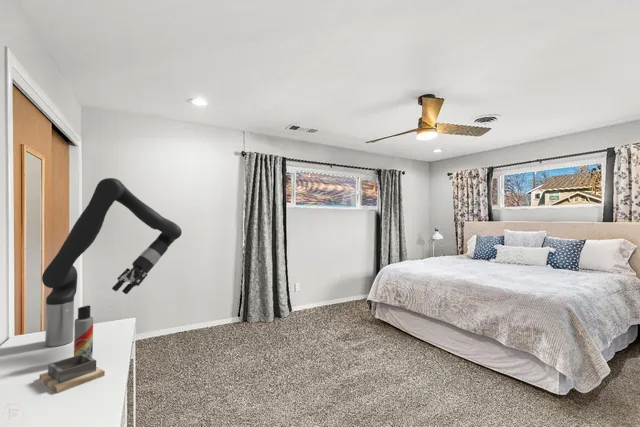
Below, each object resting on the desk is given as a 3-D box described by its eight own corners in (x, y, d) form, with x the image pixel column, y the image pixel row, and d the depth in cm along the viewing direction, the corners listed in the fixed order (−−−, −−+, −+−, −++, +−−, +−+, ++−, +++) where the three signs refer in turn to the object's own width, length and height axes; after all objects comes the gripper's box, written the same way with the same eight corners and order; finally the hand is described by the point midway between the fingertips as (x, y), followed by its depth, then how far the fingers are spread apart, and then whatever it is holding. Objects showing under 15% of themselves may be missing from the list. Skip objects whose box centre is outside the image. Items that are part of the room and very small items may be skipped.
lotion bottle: (82, 363, 117) (83, 308, 117) (69, 361, 118) (70, 307, 119) (96, 356, 123) (97, 304, 123) (84, 354, 124) (85, 303, 124)
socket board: (39, 379, 105) (39, 363, 105) (85, 364, 116) (85, 350, 116) (57, 393, 97) (57, 376, 97) (104, 375, 108) (104, 360, 108)
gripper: (132, 254, 142) (103, 284, 133) (150, 256, 135) (120, 288, 125) (144, 264, 147) (117, 294, 137) (161, 267, 139) (134, 299, 129)
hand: (119, 291), depth 131 cm, fingers open, 8 cm apart
